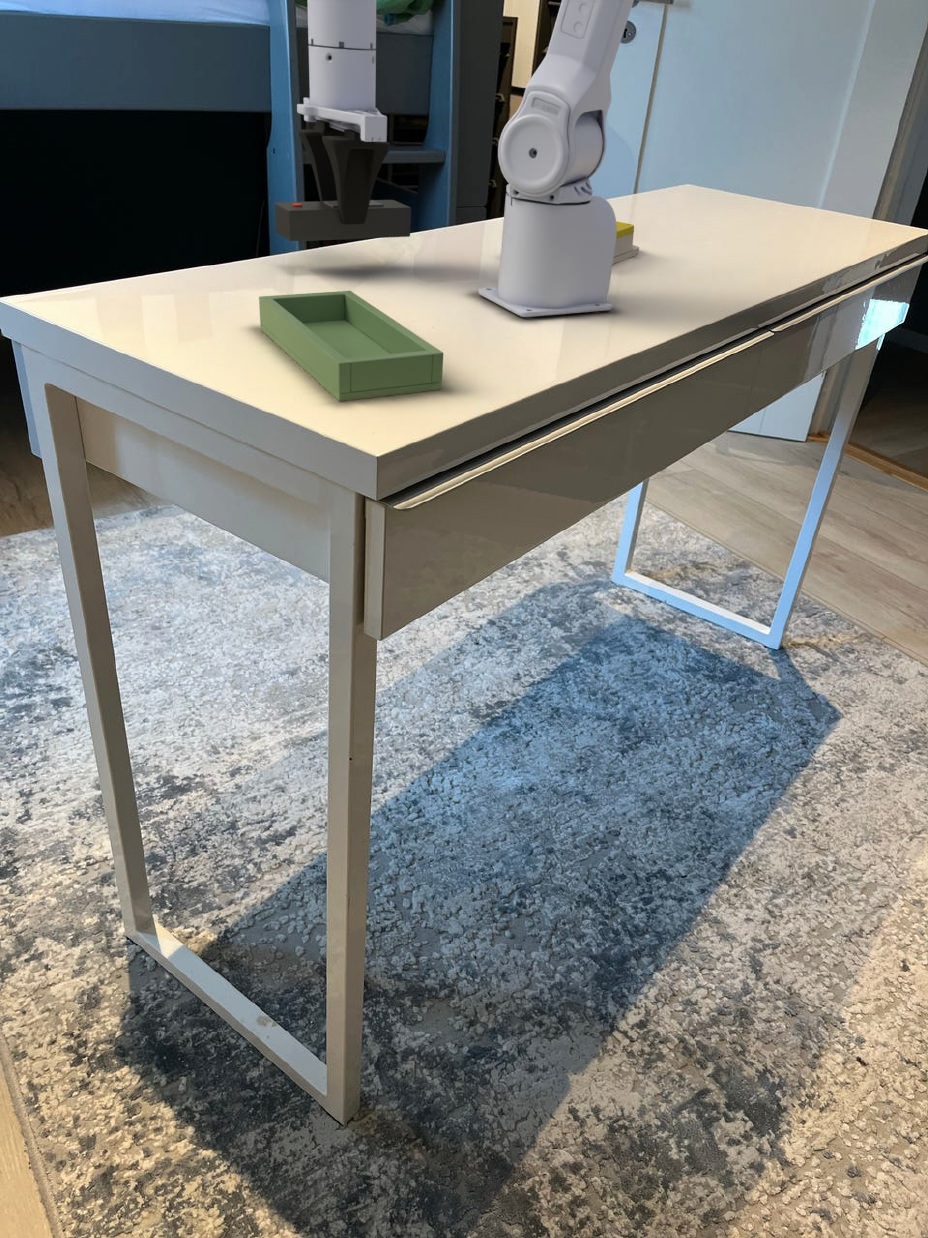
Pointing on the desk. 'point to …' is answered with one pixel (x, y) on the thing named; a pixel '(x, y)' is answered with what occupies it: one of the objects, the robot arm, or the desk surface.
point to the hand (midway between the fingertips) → (343, 218)
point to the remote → (326, 223)
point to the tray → (350, 345)
